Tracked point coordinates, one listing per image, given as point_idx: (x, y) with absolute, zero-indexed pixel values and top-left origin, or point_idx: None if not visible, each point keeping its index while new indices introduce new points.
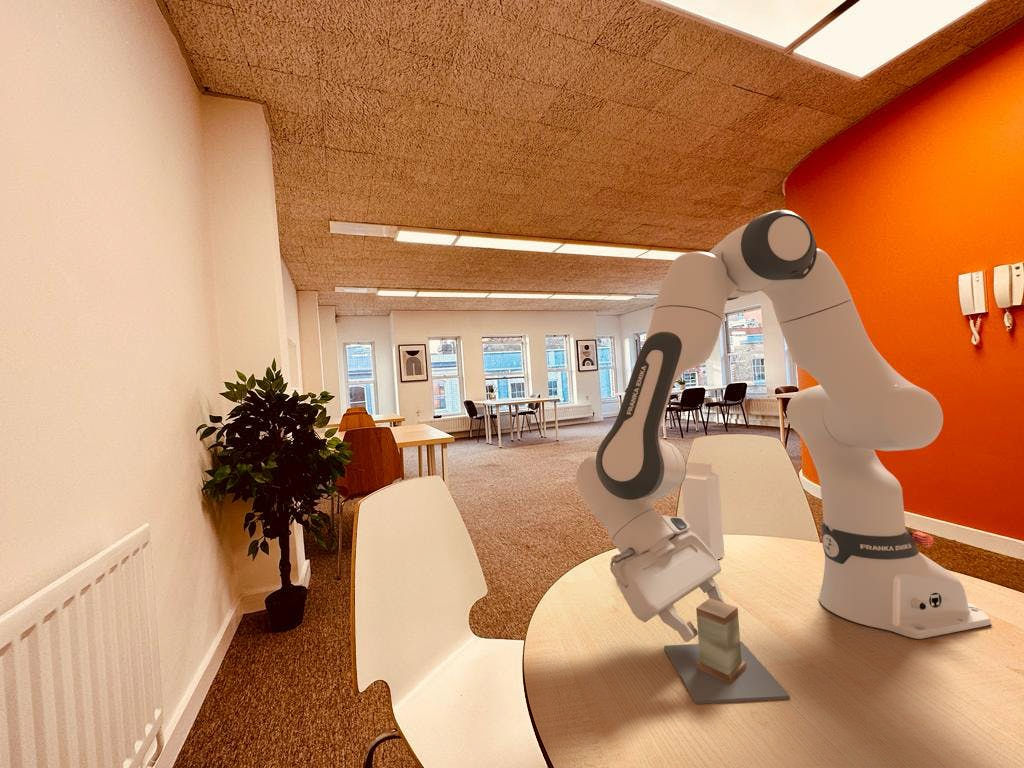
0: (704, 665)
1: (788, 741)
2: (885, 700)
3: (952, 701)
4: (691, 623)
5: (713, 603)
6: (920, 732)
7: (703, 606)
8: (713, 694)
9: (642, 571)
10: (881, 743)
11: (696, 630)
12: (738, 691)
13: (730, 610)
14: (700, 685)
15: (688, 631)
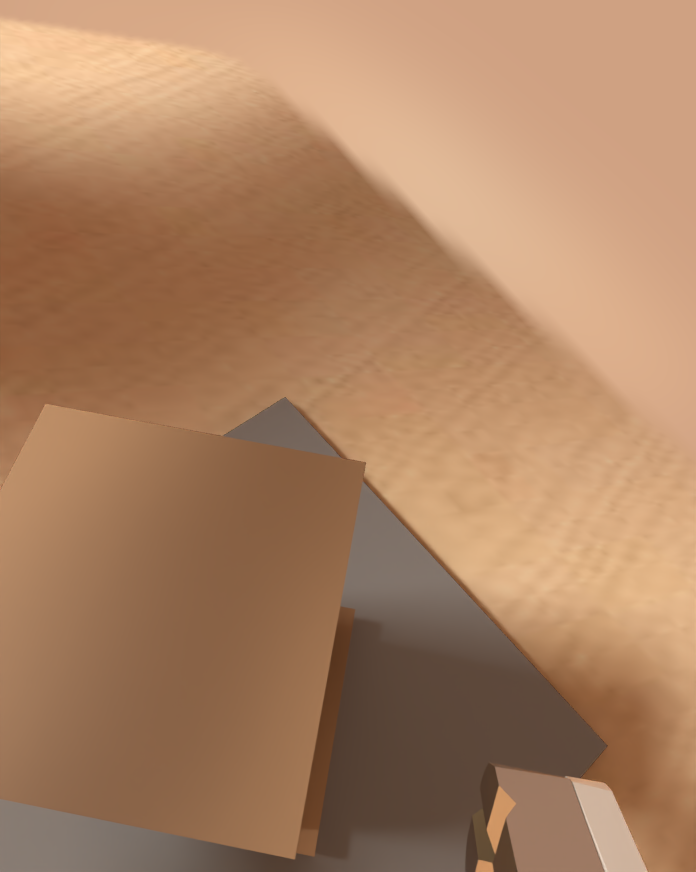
0: (315, 787)
1: (526, 389)
2: (127, 194)
3: (52, 93)
4: (521, 843)
5: (32, 665)
6: (244, 151)
7: (194, 766)
8: (490, 675)
9: None
10: (352, 212)
11: (502, 776)
12: (387, 573)
13: (153, 448)
14: (466, 765)
15: (631, 836)
